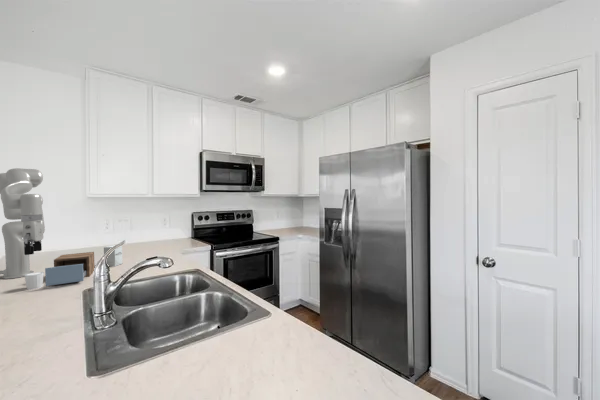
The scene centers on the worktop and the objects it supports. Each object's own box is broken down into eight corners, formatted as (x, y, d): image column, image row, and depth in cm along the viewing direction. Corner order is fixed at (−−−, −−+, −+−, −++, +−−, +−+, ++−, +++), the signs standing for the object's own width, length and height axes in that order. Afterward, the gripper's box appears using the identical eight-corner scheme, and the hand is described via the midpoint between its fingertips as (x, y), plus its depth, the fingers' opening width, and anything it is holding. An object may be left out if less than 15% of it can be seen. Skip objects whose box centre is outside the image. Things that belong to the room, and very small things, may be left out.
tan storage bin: (62, 274, 156) (62, 254, 155) (94, 270, 163) (93, 251, 163) (54, 281, 143) (53, 259, 143) (89, 276, 150) (88, 256, 150)
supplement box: (115, 266, 171) (114, 247, 171) (103, 266, 171) (103, 247, 171) (123, 263, 178) (122, 244, 178) (112, 263, 179) (111, 245, 178)
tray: (55, 278, 144) (54, 262, 144) (89, 273, 151) (88, 258, 151) (45, 285, 132) (45, 268, 132) (83, 280, 139) (82, 264, 138)
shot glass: (48, 285, 137) (47, 271, 137) (33, 290, 130) (32, 275, 130) (36, 285, 138) (35, 271, 137) (20, 289, 131) (20, 275, 131)
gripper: (35, 219, 127) (36, 254, 127) (48, 217, 142) (49, 249, 143) (13, 220, 124) (14, 257, 124) (29, 218, 139) (30, 250, 139)
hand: (33, 252), depth 133 cm, fingers open, 9 cm apart
